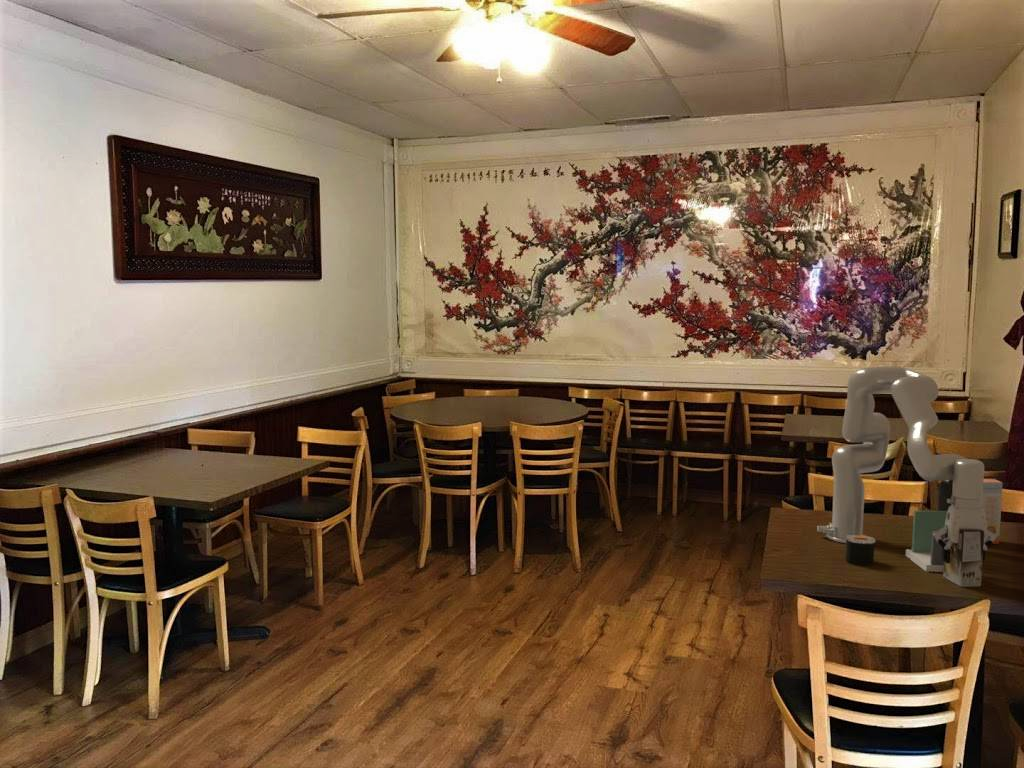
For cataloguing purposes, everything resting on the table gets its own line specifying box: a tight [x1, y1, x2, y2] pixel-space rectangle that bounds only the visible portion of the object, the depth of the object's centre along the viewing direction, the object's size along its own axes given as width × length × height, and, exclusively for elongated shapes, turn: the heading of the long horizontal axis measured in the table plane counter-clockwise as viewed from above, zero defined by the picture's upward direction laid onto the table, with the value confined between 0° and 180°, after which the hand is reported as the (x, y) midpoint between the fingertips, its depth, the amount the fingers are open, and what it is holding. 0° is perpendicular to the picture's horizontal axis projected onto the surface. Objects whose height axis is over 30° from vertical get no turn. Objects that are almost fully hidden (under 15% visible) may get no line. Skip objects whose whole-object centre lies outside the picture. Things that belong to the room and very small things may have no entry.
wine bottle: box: [936, 480, 953, 511], centre depth 272 cm, size 6×6×30 cm
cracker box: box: [982, 478, 1003, 545], centre depth 278 cm, size 14×6×21 cm, turn 84°
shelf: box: [905, 509, 948, 573], centre depth 256 cm, size 13×15×15 cm
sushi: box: [845, 534, 876, 567], centre depth 258 cm, size 8×8×8 cm
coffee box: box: [942, 530, 984, 588], centre depth 240 cm, size 9×6×16 cm
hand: (962, 562), depth 240 cm, fingers open, 8 cm apart
